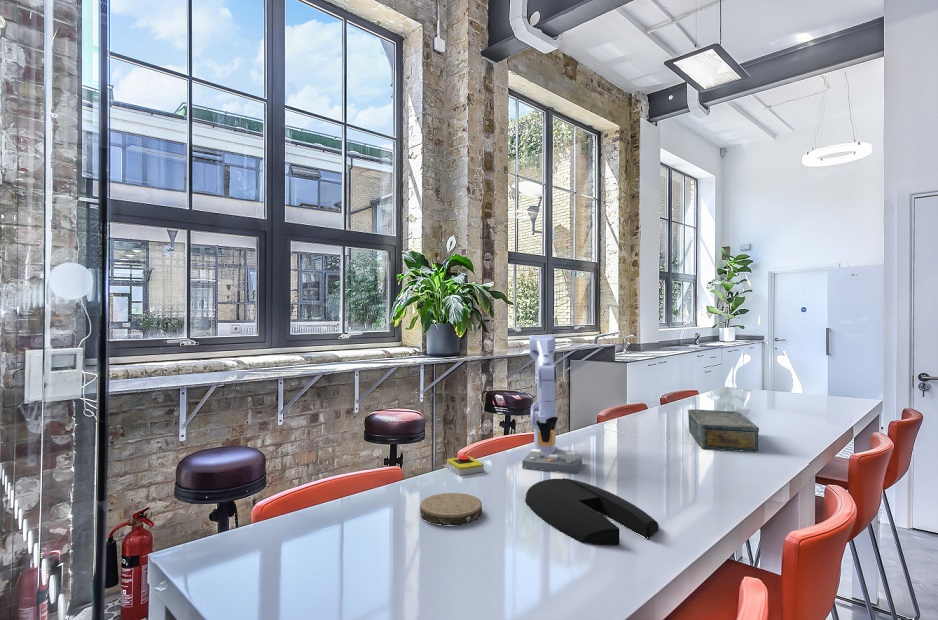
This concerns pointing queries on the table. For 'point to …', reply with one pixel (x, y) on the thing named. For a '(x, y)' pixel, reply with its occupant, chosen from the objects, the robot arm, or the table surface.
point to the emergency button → (465, 466)
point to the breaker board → (553, 461)
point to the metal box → (723, 430)
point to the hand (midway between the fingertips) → (547, 440)
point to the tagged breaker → (553, 457)
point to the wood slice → (451, 509)
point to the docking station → (586, 511)
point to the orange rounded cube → (551, 440)
